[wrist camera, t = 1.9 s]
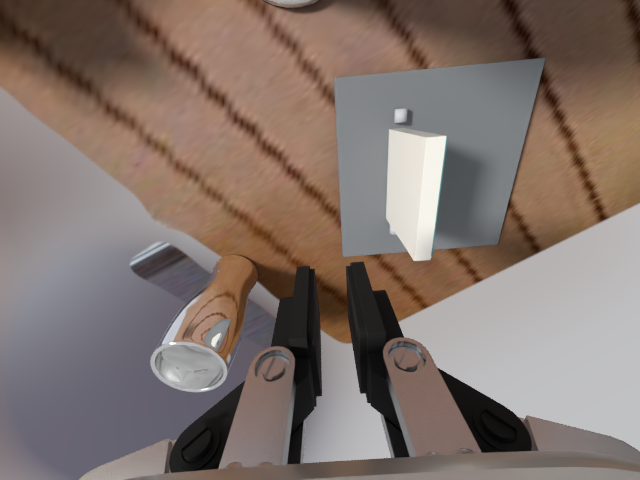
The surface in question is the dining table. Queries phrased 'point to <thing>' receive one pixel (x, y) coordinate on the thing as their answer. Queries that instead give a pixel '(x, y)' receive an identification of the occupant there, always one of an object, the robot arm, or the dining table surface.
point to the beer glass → (207, 329)
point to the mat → (461, 153)
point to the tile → (415, 188)
